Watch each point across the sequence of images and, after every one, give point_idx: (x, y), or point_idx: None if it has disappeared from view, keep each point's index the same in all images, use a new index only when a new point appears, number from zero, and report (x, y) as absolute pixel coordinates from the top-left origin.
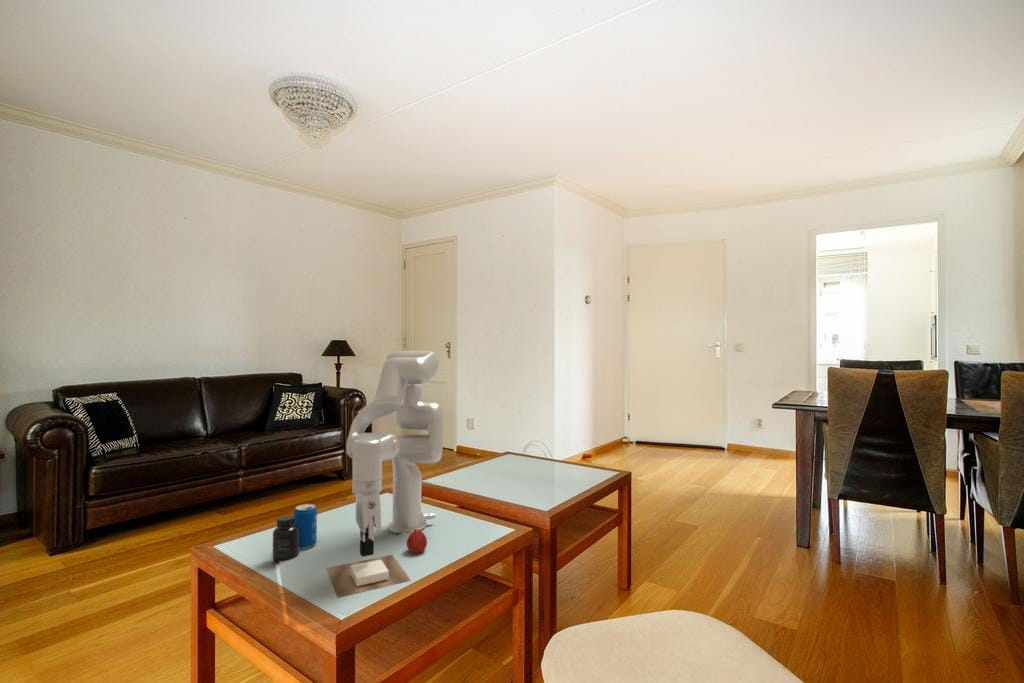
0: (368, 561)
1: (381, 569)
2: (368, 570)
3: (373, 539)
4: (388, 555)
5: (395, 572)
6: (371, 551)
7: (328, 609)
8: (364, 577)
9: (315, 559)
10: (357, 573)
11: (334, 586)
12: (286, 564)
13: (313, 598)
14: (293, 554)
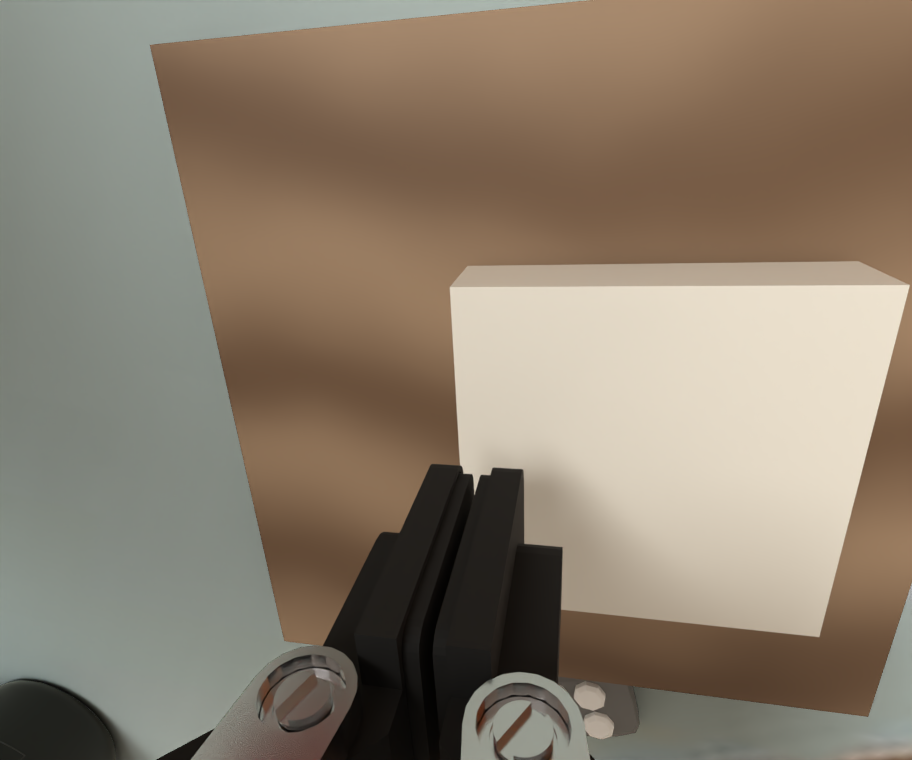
0: (262, 342)
1: (775, 360)
2: (698, 496)
3: (576, 709)
4: (165, 99)
5: (689, 125)
6: (519, 519)
7: (906, 741)
8: (829, 561)
9: (75, 613)
10: (702, 601)
11: (644, 682)
12: (118, 736)
13: (662, 757)
14: (57, 757)
